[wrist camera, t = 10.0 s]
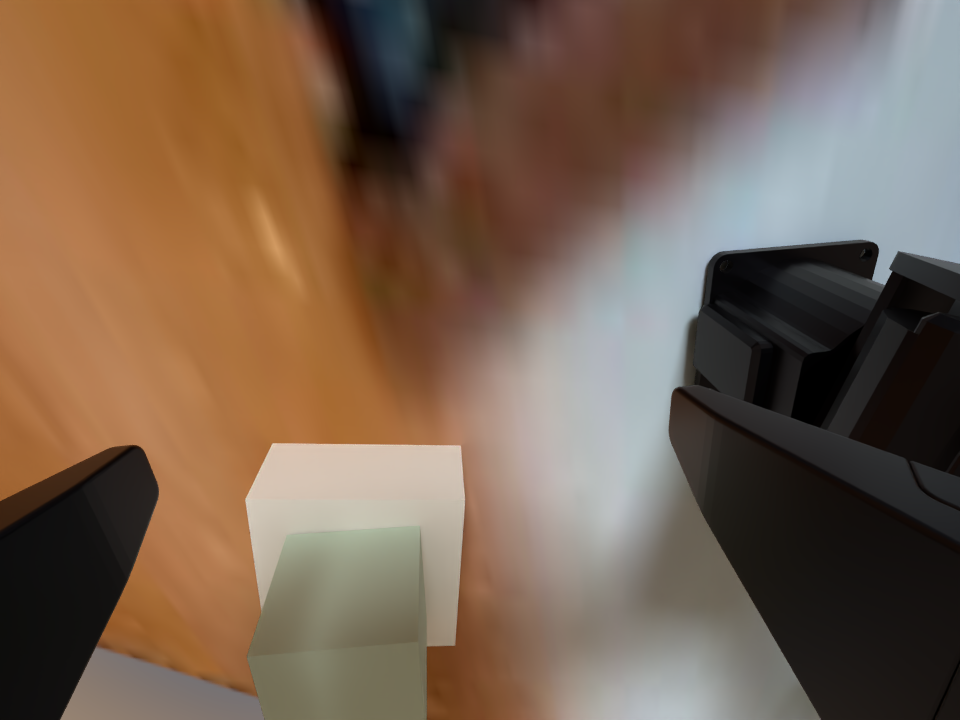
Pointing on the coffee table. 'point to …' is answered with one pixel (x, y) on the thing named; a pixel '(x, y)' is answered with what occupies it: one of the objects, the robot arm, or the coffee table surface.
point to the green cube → (344, 628)
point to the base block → (366, 509)
